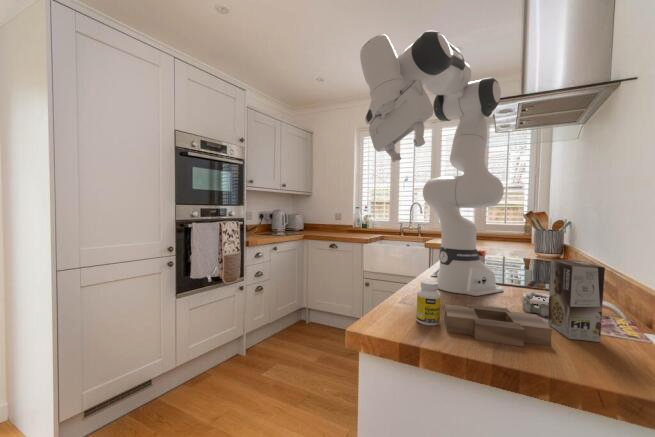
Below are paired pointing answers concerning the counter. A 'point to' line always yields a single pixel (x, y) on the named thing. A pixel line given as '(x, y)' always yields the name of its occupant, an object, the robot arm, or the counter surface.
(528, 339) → the walnut cross stand
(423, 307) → the supplement bottle
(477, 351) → the counter surface
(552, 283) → the coffee box
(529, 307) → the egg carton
